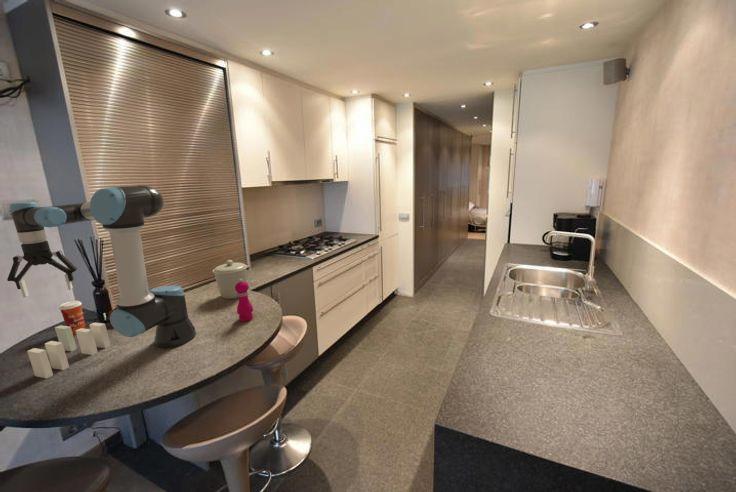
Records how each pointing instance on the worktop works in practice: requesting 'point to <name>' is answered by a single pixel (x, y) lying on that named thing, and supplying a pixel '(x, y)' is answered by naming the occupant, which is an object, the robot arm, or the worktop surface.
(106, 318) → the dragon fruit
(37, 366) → the domino
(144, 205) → the robot arm
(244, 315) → the pepper mill
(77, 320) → the paper cup
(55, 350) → the domino
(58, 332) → the domino
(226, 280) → the canister
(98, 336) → the domino
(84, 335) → the domino
